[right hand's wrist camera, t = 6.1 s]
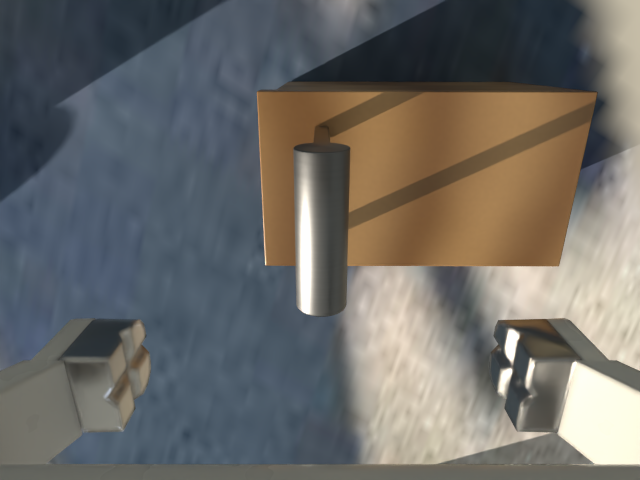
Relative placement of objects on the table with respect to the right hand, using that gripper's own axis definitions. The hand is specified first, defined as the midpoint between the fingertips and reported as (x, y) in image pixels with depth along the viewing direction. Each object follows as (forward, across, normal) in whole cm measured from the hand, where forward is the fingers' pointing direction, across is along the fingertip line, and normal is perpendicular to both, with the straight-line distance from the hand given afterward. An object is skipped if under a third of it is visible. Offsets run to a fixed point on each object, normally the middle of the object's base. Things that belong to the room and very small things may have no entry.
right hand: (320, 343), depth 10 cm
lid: (+15, +5, 0) cm, 16 cm away
